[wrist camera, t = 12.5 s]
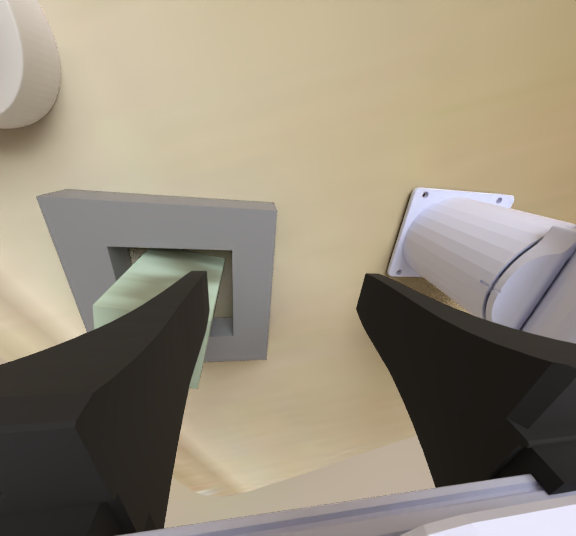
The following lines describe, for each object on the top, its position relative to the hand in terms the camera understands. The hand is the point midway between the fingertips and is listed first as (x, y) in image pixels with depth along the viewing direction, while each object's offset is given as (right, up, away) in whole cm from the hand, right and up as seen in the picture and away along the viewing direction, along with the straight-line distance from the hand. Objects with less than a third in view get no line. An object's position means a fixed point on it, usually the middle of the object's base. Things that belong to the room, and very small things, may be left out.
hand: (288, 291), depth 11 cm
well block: (-9, 0, +9) cm, 13 cm away
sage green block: (-9, 0, +9) cm, 13 cm away
